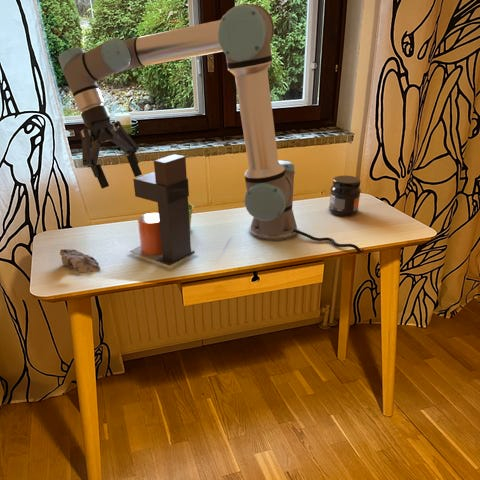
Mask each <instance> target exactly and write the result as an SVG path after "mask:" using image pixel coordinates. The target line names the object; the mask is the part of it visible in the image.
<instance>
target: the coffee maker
mask: <svg viewBox="0 0 480 480" xmlns="http://www.w3.org/2000/svg"><path fill="white" fill-rule="evenodd" d="M153 168H154V169H153V170H154V171H152V172H149V173H146V174H142V175H139V176H137V177H134V178H133V180H132V181H133V187H134V188H133V189H134V196H135V197H136V198H140V199H143V200H147V201H151V202H154V203H157V211H158V212H157V213H159V223H160V233H161V244H162V254H160V255H147V254H144V253H143V252H142V251H141V245H139V246H136V248H133V249H131V250H129V251H128V252H129V253H133V254H135V255H138V256H141V257H144V258H147V259H149V260H153V261H155V262H158V263H160V264H163V265H167V266H169V267H170V266H172V265H173V264H176V263H178V262H180V261H181V260H183V259H185V258H187V257H189V256H190V255H192V254H195V250H193V249H192V244H191V226H190V224H189V208H188V203H189V197H190V189H189V188H190V187H189V178H188V176H187V159H186V155H181V154H175V153H174V154H171V155H167V156H164V157H161V158H158V159H155V160H153Z"/></svg>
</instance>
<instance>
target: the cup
mask: <svg viewBox="0 0 480 480" xmlns="http://www.w3.org/2000/svg"><path fill="white" fill-rule="evenodd" d="M137 226H138V233H139V241H140V242H139V243H140V246H141V251H142V252H143V253H144V254H147V255H160V254H162V244H161V233H160V223H159V212H150V213H148V212H147V213H144V214H142V215H140V216H138V217H137Z"/></svg>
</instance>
